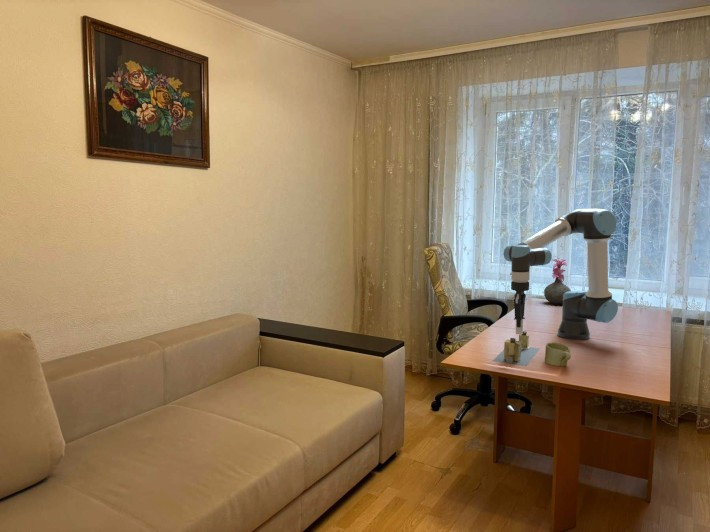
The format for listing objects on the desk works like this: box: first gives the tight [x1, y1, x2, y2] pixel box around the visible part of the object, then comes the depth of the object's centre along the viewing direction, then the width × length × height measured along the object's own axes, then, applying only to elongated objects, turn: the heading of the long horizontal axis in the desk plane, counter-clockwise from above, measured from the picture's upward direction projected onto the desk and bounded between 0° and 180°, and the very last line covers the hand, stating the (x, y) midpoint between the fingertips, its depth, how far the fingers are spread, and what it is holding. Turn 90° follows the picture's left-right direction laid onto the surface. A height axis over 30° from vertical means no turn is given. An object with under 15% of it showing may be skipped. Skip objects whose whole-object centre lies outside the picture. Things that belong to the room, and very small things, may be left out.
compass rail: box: [505, 330, 530, 365], centre depth 231 cm, size 4×29×7 cm, turn 151°
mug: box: [544, 342, 572, 368], centre depth 218 cm, size 12×10×10 cm
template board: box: [492, 346, 541, 367], centre depth 232 cm, size 14×31×1 cm, turn 150°
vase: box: [543, 258, 572, 306], centre depth 349 cm, size 17×17×30 cm
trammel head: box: [503, 337, 521, 362], centre depth 223 cm, size 6×4×9 cm
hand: (519, 333), depth 231 cm, fingers closed
